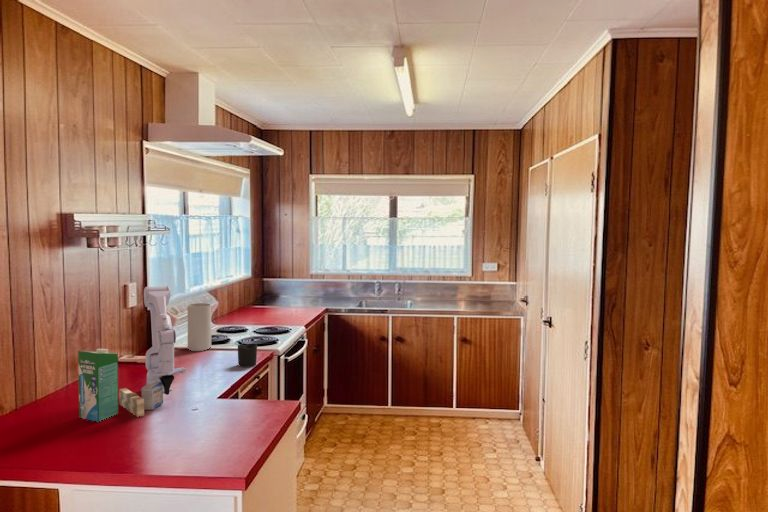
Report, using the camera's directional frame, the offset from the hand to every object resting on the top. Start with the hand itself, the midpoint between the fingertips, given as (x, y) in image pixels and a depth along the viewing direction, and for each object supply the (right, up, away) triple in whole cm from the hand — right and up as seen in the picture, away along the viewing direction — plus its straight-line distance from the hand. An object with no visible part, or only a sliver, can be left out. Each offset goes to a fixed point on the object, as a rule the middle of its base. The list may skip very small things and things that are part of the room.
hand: (166, 394), depth 206 cm
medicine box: (-3, -4, -4) cm, 7 cm away
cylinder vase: (-18, +2, +87) cm, 89 cm away
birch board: (-10, -4, -8) cm, 13 cm away
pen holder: (+17, -1, +56) cm, 59 cm away
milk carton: (-18, -4, -15) cm, 24 cm away
